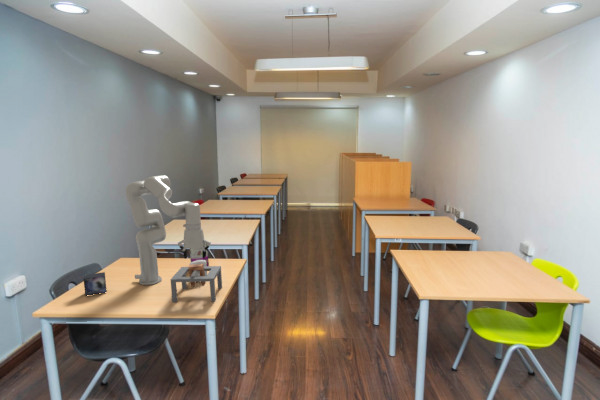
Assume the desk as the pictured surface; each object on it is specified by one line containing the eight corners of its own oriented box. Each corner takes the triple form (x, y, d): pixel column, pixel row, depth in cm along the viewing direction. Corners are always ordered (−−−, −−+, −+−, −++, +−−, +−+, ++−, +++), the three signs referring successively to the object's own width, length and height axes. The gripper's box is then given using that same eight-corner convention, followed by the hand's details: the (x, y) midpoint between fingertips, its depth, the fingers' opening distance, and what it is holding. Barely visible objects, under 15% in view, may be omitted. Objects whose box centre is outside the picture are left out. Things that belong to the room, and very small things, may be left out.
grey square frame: (172, 302, 198) (170, 275, 195) (183, 288, 217) (181, 263, 214) (214, 301, 198) (213, 274, 195) (222, 287, 217) (220, 262, 214)
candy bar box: (207, 264, 257) (206, 240, 254) (209, 266, 252) (207, 242, 250) (190, 266, 253) (188, 242, 250) (191, 268, 248) (189, 244, 245)
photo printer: (206, 277, 232) (204, 257, 230) (208, 279, 229) (207, 259, 227) (189, 281, 227) (187, 261, 225) (191, 283, 223) (190, 263, 221)
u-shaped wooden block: (190, 286, 204) (188, 267, 202) (192, 283, 208) (190, 264, 206) (203, 285, 204) (201, 266, 202) (205, 282, 208) (203, 263, 206)
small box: (85, 297, 207) (82, 278, 205) (85, 293, 213) (83, 275, 211) (106, 293, 212) (104, 275, 210) (106, 289, 217) (104, 271, 216)
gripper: (174, 228, 197) (176, 260, 200) (208, 228, 197) (209, 260, 200) (179, 224, 205) (181, 255, 208) (211, 224, 205) (212, 255, 208)
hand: (195, 257), depth 204 cm, fingers open, 9 cm apart
